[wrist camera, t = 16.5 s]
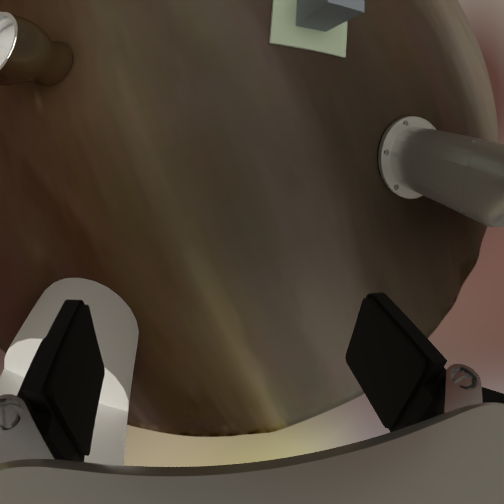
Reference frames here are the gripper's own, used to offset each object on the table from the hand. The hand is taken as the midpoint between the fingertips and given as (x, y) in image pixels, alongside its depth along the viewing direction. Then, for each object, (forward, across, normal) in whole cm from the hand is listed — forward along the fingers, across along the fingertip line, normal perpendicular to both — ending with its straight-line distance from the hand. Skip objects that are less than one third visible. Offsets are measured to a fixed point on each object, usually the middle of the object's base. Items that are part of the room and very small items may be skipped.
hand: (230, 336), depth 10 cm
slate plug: (+30, -12, -22) cm, 39 cm away
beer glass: (+31, +20, -15) cm, 39 cm away
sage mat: (+30, -12, -22) cm, 39 cm away
